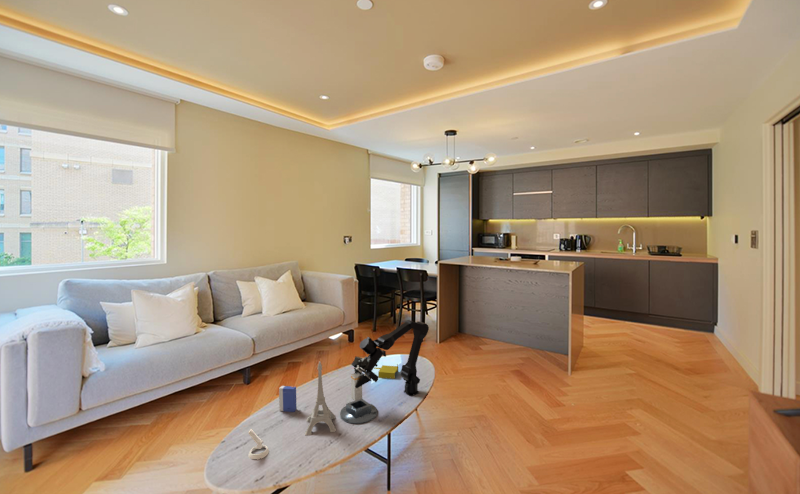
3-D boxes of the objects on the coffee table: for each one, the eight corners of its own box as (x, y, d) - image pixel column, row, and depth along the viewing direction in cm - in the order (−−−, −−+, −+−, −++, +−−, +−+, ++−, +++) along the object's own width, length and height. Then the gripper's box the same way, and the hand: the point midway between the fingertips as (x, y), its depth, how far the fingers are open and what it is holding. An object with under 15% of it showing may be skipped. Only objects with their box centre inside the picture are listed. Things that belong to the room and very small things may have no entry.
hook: (237, 438, 137) (252, 425, 140) (255, 460, 138) (270, 446, 141) (235, 445, 130) (251, 430, 133) (255, 468, 131) (270, 453, 134)
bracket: (377, 357, 219) (399, 359, 216) (377, 369, 219) (399, 371, 217) (370, 367, 204) (394, 369, 201) (370, 379, 204) (394, 381, 201)
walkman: (296, 409, 170) (296, 385, 169) (294, 412, 167) (293, 388, 166) (282, 408, 171) (281, 385, 170) (279, 410, 168) (278, 387, 168)
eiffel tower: (335, 415, 163) (334, 355, 162) (335, 431, 150) (334, 366, 149) (306, 419, 161) (305, 357, 159) (305, 435, 148) (303, 368, 146)
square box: (358, 395, 169) (358, 372, 169) (362, 398, 166) (362, 375, 165) (351, 398, 167) (350, 374, 166) (354, 401, 163) (354, 377, 163)
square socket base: (364, 400, 178) (364, 392, 178) (384, 414, 164) (384, 405, 164) (333, 412, 167) (333, 403, 166) (352, 428, 153) (352, 418, 152)
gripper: (354, 345, 175) (335, 371, 169) (372, 355, 160) (352, 384, 154) (367, 356, 180) (349, 382, 174) (386, 368, 165) (367, 396, 159)
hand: (354, 386), depth 165 cm, fingers closed on square box, 4 cm apart
